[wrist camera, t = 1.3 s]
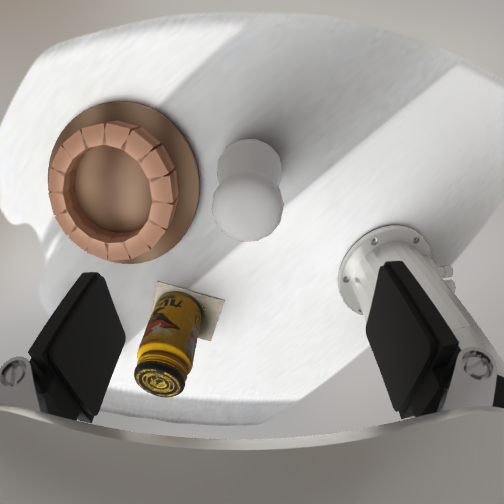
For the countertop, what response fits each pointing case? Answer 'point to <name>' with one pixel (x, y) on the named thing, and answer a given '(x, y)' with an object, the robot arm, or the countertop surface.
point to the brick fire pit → (123, 182)
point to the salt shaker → (248, 191)
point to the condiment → (174, 338)
